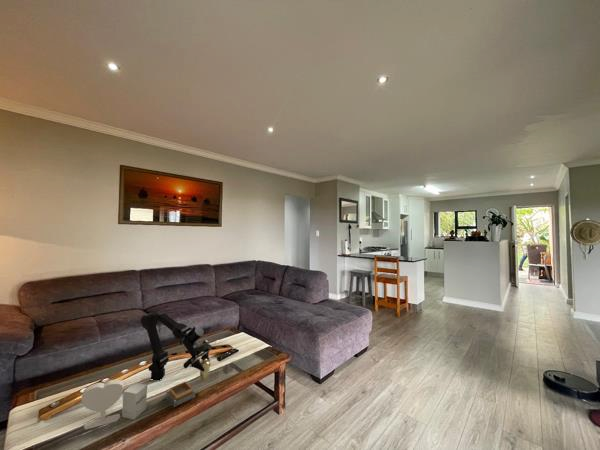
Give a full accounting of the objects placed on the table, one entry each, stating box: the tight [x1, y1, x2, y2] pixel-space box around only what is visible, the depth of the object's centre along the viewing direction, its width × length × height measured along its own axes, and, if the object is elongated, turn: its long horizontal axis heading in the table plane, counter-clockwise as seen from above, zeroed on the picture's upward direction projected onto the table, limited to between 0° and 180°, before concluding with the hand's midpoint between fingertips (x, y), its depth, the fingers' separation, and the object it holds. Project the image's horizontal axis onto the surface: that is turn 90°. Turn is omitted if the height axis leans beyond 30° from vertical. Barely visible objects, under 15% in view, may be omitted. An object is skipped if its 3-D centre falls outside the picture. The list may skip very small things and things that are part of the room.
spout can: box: [199, 358, 211, 383], centre depth 142 cm, size 6×5×12 cm
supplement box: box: [121, 382, 148, 420], centre depth 124 cm, size 7×7×13 cm
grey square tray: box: [165, 381, 196, 408], centre depth 136 cm, size 11×11×5 cm
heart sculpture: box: [80, 379, 125, 430], centre depth 118 cm, size 16×5×18 cm, turn 118°
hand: (206, 368), depth 142 cm, fingers closed on spout can, 5 cm apart
